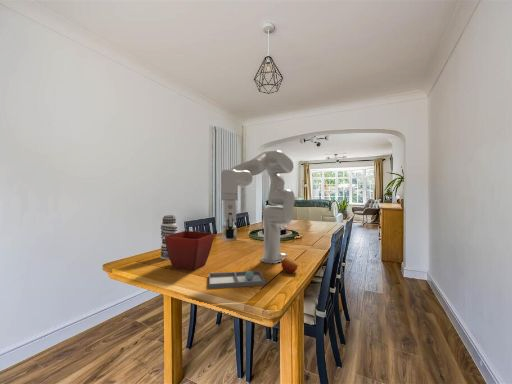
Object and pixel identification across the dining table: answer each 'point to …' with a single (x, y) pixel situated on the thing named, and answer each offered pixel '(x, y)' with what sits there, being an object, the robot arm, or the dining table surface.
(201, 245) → the plant pot
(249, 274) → the teal ball
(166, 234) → the decorative candle
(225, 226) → the letter cube
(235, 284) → the compartment box
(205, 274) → the dining table surface
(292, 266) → the fruit
